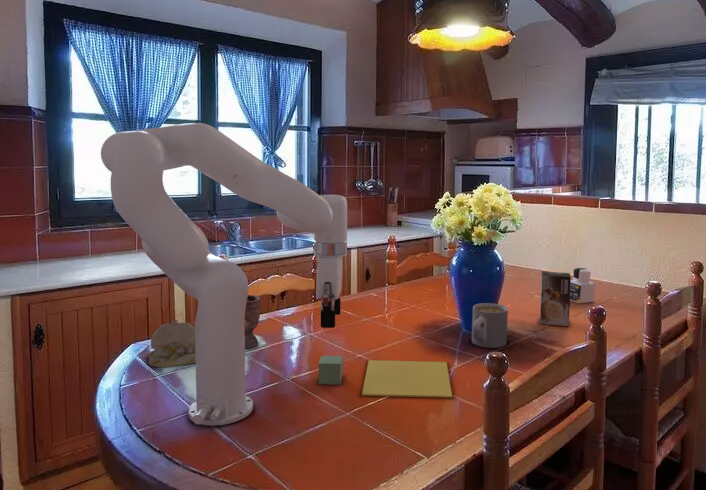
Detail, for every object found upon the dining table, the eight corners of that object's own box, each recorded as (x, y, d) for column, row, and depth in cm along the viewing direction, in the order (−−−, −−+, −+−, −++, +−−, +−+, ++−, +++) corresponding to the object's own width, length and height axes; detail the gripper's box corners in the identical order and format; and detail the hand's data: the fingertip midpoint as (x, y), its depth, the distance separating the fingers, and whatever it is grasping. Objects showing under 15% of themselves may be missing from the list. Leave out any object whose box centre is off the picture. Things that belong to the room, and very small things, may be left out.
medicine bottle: (566, 298, 209) (568, 267, 208) (581, 297, 212) (583, 266, 211) (579, 303, 203) (581, 271, 201) (594, 302, 206) (596, 270, 204)
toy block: (340, 384, 129) (340, 363, 128) (318, 384, 129) (318, 363, 128) (342, 375, 134) (342, 355, 133) (321, 375, 134) (322, 355, 133)
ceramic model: (141, 369, 135) (140, 329, 134) (150, 352, 145) (149, 315, 144) (203, 364, 138) (202, 325, 137) (207, 348, 149) (206, 312, 148)
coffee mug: (486, 333, 167) (487, 301, 166) (513, 342, 160) (515, 308, 159) (456, 343, 158) (457, 309, 157) (483, 353, 151) (484, 317, 150)
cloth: (452, 397, 123) (452, 396, 123) (361, 395, 123) (361, 393, 123) (446, 363, 143) (446, 361, 143) (368, 361, 143) (368, 360, 143)
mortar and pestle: (216, 341, 155) (215, 271, 152) (244, 334, 161) (244, 266, 159) (238, 352, 147) (237, 278, 144) (266, 345, 153) (266, 273, 151)
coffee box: (568, 320, 182) (571, 272, 180) (569, 326, 176) (571, 276, 174) (539, 318, 184) (541, 270, 182) (539, 324, 178) (541, 274, 176)
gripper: (320, 241, 137) (320, 309, 139) (307, 255, 119) (308, 332, 122) (350, 242, 137) (350, 310, 139) (342, 256, 119) (342, 333, 122)
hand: (330, 320), depth 130 cm, fingers open, 9 cm apart
